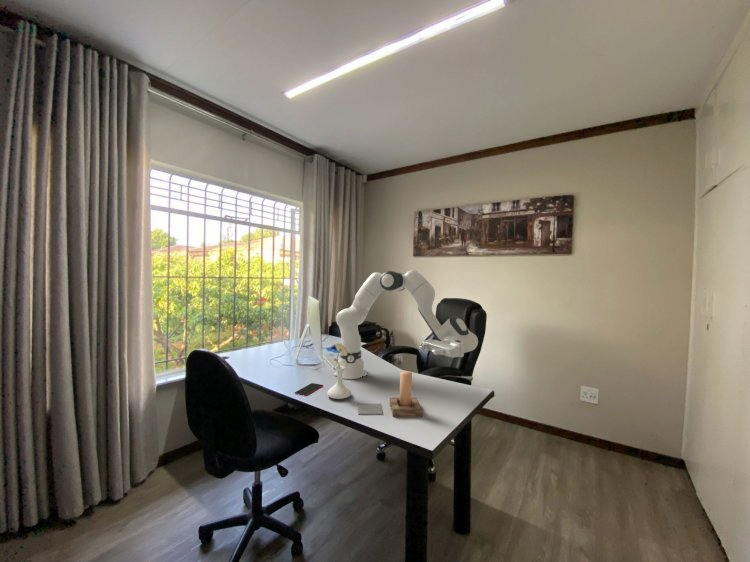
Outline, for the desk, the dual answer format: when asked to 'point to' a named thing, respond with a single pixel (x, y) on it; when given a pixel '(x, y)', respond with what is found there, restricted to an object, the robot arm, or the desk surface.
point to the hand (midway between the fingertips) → (426, 350)
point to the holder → (405, 408)
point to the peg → (405, 388)
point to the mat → (369, 409)
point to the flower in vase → (339, 378)
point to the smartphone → (309, 389)
